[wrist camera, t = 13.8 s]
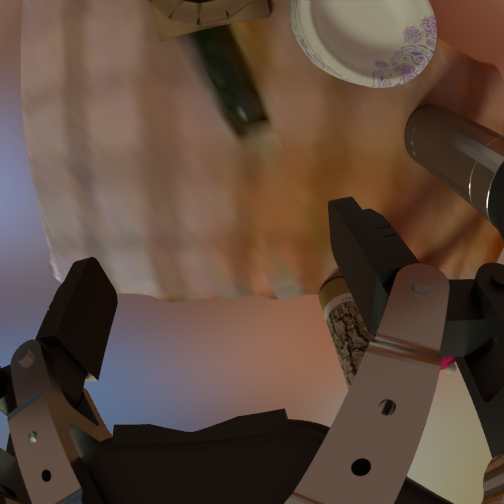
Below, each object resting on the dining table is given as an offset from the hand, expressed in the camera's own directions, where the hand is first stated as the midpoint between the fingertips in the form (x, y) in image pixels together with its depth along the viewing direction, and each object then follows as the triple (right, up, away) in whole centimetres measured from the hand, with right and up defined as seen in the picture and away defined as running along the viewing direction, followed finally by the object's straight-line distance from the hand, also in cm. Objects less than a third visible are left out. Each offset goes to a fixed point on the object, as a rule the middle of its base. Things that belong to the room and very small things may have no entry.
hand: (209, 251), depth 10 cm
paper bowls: (+12, +27, +17) cm, 34 cm away
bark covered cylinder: (+16, -6, +42) cm, 45 cm away
